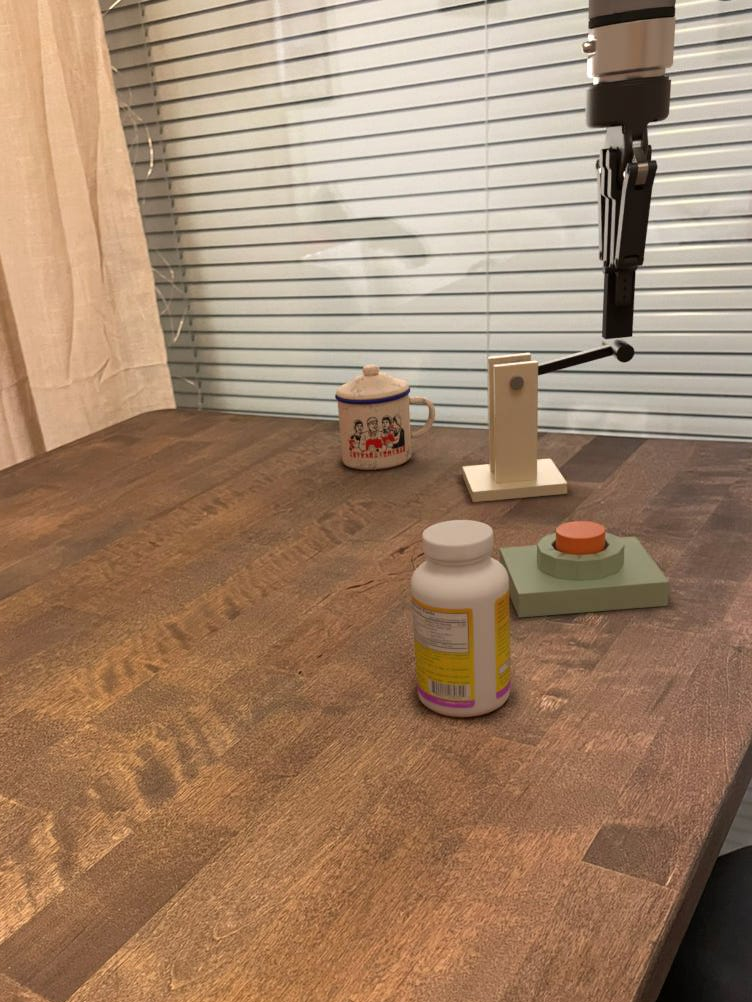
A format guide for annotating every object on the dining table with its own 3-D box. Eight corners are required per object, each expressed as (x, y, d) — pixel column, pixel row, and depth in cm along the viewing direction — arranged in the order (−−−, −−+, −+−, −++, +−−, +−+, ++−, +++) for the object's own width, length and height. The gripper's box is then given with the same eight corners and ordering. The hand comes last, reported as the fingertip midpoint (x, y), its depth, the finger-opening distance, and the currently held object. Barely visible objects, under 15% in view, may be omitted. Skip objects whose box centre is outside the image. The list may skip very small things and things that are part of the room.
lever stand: (550, 468, 115) (552, 346, 109) (567, 493, 107) (570, 363, 101) (462, 476, 116) (459, 355, 110) (472, 502, 108) (469, 373, 102)
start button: (598, 538, 87) (599, 519, 86) (610, 555, 83) (611, 536, 82) (551, 542, 87) (551, 523, 86) (560, 559, 84) (561, 540, 83)
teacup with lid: (343, 475, 121) (335, 378, 116) (337, 453, 130) (330, 362, 124) (442, 463, 121) (439, 366, 116) (430, 443, 129) (426, 351, 124)
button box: (634, 558, 91) (636, 517, 89) (667, 606, 82) (671, 560, 80) (499, 570, 92) (499, 529, 90) (518, 618, 83) (518, 573, 81)
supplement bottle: (485, 667, 76) (482, 507, 70) (527, 708, 70) (527, 537, 65) (403, 686, 75) (393, 525, 69) (438, 730, 69) (431, 558, 63)
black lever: (620, 350, 108) (617, 328, 106) (636, 362, 102) (633, 339, 101) (496, 384, 110) (492, 363, 109) (505, 397, 104) (501, 375, 103)
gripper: (571, 85, 99) (566, 329, 110) (604, 80, 88) (595, 353, 99) (649, 75, 99) (636, 321, 109) (692, 69, 87) (673, 345, 98)
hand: (617, 336), depth 104 cm, fingers closed
